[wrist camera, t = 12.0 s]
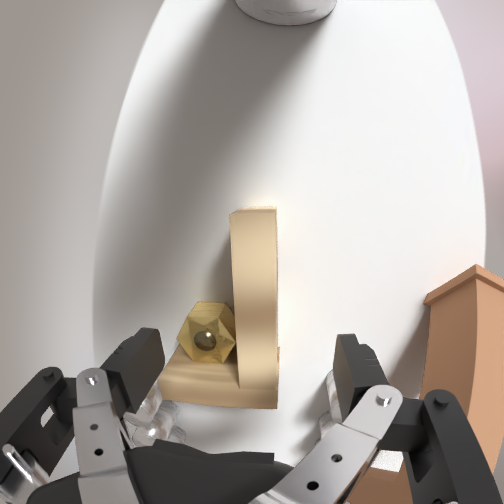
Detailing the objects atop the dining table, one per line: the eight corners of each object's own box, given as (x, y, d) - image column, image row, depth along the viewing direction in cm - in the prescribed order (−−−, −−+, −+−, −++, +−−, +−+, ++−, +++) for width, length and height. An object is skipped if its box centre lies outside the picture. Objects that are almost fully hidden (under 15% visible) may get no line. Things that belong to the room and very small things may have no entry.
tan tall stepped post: (350, 333, 36) (298, 502, 25) (476, 263, 16) (390, 592, 4) (391, 344, 36) (345, 505, 24) (519, 288, 16) (456, 567, 4)
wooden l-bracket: (166, 210, 22) (129, 219, 16) (278, 206, 21) (277, 213, 15) (184, 359, 25) (162, 399, 20) (279, 364, 24) (277, 409, 19)
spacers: (138, 356, 26) (111, 390, 20) (360, 364, 24) (376, 406, 18) (164, 440, 29) (149, 473, 23) (339, 450, 27) (345, 487, 21)
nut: (184, 301, 24) (172, 315, 21) (240, 302, 23) (234, 318, 20) (190, 342, 25) (179, 360, 22) (242, 345, 24) (237, 365, 21)
